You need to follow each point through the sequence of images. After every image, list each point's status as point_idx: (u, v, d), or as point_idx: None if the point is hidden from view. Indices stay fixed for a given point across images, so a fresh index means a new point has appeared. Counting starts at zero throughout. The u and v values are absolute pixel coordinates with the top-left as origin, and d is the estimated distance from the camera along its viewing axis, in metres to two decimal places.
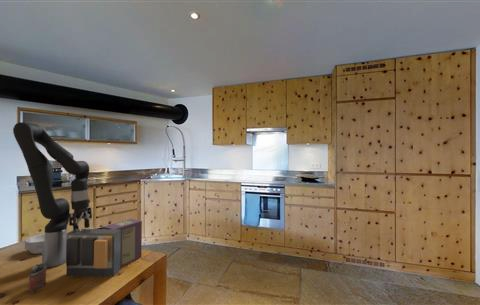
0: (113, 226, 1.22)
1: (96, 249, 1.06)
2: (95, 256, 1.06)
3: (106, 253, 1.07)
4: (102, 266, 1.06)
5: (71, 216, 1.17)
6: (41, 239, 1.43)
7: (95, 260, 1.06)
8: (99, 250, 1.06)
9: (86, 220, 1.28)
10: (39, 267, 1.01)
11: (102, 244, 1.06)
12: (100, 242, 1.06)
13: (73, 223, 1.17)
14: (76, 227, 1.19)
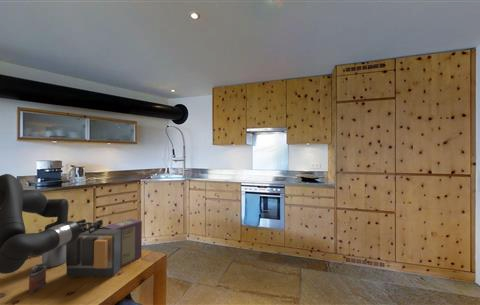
0: (113, 226, 1.22)
1: (96, 249, 1.06)
2: (95, 256, 1.06)
3: (106, 253, 1.07)
4: (102, 266, 1.06)
5: None
6: None
7: (95, 260, 1.06)
8: (99, 250, 1.06)
9: None
10: (39, 267, 1.01)
11: (102, 244, 1.06)
12: (100, 242, 1.06)
13: None
14: None
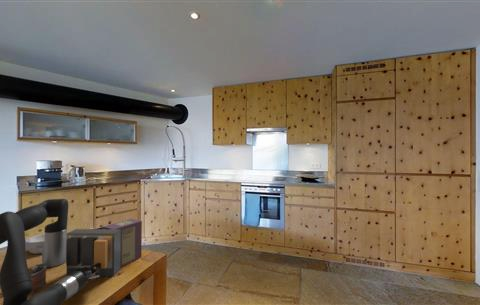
0: (113, 226, 1.22)
1: (96, 249, 1.06)
2: (95, 256, 1.06)
3: (106, 253, 1.07)
4: (102, 266, 1.06)
5: None
6: (41, 239, 1.43)
7: (95, 260, 1.06)
8: (99, 250, 1.06)
9: None
10: (39, 267, 1.01)
11: (102, 244, 1.06)
12: (100, 242, 1.06)
13: None
14: None
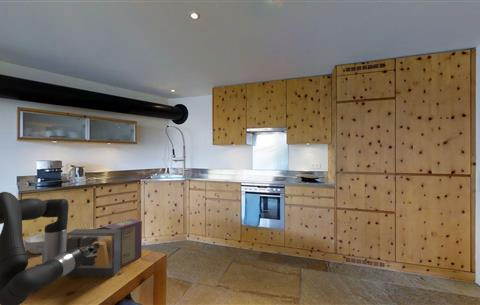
0: (113, 226, 1.22)
1: None
2: None
3: (106, 254, 1.07)
4: (104, 265, 1.08)
5: None
6: (41, 239, 1.43)
7: (96, 260, 1.07)
8: (98, 252, 1.06)
9: None
10: None
11: (101, 247, 1.05)
12: None
13: None
14: None
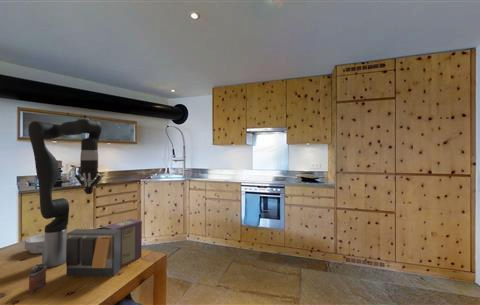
0: (113, 226, 1.22)
1: (98, 247, 1.07)
2: (95, 254, 1.06)
3: (106, 252, 1.07)
4: (100, 265, 1.05)
5: None
6: (41, 239, 1.43)
7: (94, 259, 1.06)
8: (100, 248, 1.07)
9: None
10: (39, 267, 1.01)
11: (104, 242, 1.08)
12: (102, 240, 1.08)
13: None
14: (86, 188, 1.18)
